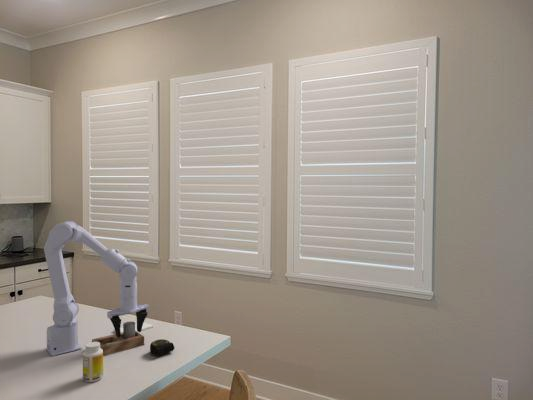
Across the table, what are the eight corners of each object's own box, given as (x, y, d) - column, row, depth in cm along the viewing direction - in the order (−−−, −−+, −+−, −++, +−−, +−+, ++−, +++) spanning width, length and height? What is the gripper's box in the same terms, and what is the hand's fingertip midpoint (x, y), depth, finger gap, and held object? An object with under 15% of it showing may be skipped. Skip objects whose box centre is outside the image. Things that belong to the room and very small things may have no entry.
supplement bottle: (105, 373, 122) (105, 340, 121) (99, 382, 116) (99, 347, 116) (86, 374, 121) (86, 340, 121) (79, 383, 116) (79, 348, 115)
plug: (124, 345, 142) (124, 326, 141) (122, 341, 145) (122, 322, 145) (136, 343, 144) (136, 324, 143) (133, 339, 147) (133, 320, 147)
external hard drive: (153, 329, 161) (125, 338, 151) (140, 324, 166) (113, 333, 156) (153, 325, 161) (125, 334, 151) (140, 320, 166) (113, 329, 156)
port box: (101, 356, 134) (100, 346, 134) (92, 347, 141) (92, 338, 141) (144, 344, 144) (144, 336, 144) (133, 337, 151) (133, 329, 150)
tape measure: (156, 359, 132) (156, 348, 132) (146, 353, 137) (146, 342, 137) (174, 353, 137) (174, 342, 137) (164, 347, 142) (164, 337, 142)
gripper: (112, 302, 136) (112, 342, 137) (152, 295, 146) (152, 332, 146) (105, 297, 142) (105, 336, 142) (144, 291, 151) (144, 326, 152)
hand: (128, 333), depth 145 cm, fingers open, 7 cm apart
